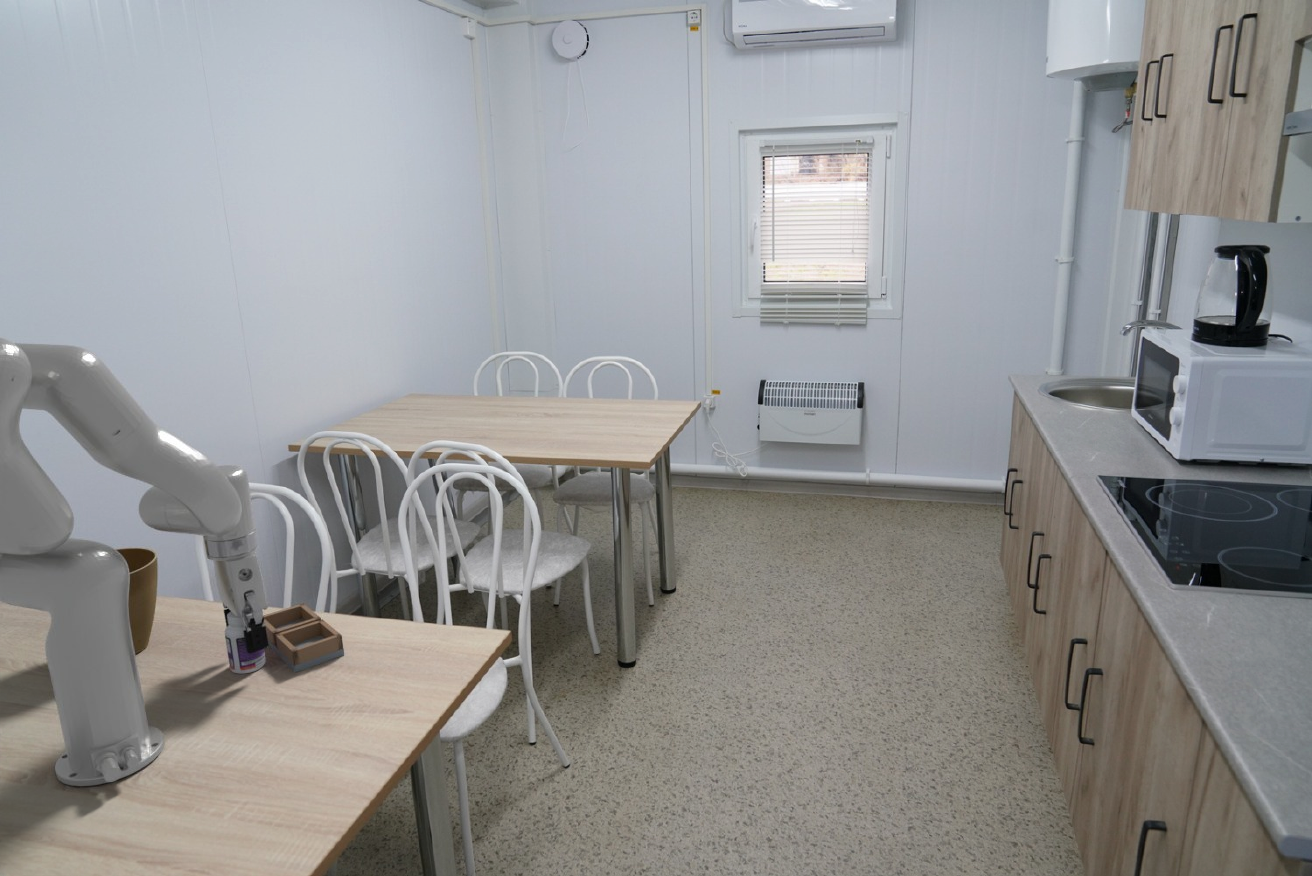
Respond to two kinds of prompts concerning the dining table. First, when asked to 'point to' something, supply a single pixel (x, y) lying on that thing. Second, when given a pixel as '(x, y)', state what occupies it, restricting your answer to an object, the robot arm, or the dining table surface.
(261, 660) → the pill bottle
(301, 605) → the two-cubby wooden organizer
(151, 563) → the plant pot
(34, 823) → the dining table surface
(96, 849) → the dining table surface
